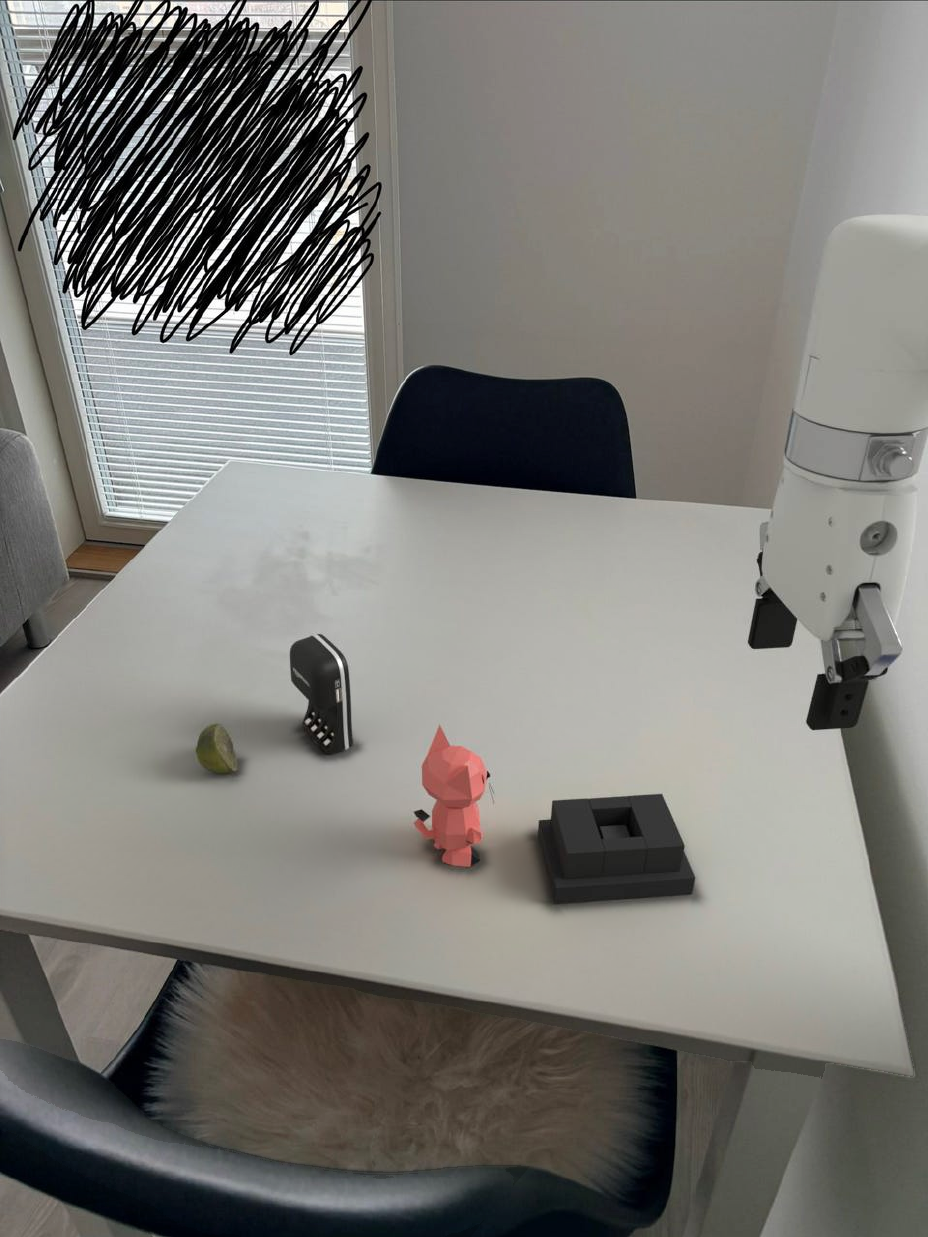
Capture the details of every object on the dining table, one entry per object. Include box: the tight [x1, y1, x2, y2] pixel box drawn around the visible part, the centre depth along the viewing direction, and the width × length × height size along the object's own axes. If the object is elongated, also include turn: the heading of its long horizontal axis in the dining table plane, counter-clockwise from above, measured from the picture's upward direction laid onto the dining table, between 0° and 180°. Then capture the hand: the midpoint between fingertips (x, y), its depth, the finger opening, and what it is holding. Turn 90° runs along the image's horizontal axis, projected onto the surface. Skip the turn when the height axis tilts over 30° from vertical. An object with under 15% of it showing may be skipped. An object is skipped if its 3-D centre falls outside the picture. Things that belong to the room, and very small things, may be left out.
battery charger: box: [289, 633, 354, 754], centre depth 89 cm, size 7×4×11 cm, turn 36°
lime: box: [195, 723, 238, 774], centre depth 86 cm, size 4×5×5 cm
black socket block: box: [550, 793, 686, 879], centre depth 76 cm, size 10×6×3 cm, turn 96°
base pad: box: [537, 818, 696, 905], centre depth 77 cm, size 12×8×4 cm, turn 96°
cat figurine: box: [413, 723, 495, 868], centre depth 76 cm, size 7×7×12 cm
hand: (797, 683), depth 60 cm, fingers open, 9 cm apart
